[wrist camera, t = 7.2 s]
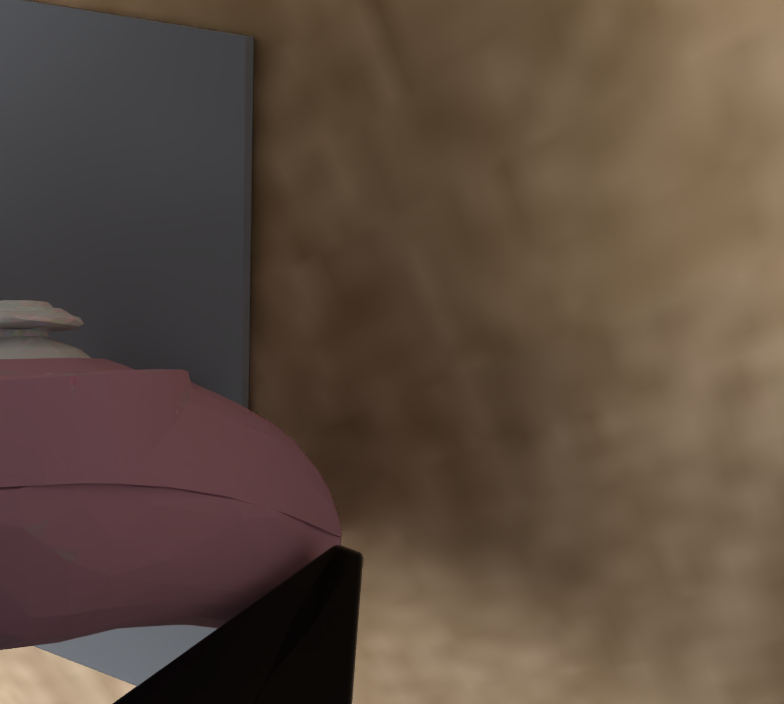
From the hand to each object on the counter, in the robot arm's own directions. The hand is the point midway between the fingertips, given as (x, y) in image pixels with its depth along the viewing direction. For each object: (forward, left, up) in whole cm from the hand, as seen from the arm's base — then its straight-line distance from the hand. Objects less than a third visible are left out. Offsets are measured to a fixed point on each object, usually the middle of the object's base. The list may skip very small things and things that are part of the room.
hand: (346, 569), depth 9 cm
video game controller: (+6, 0, -2) cm, 6 cm away
